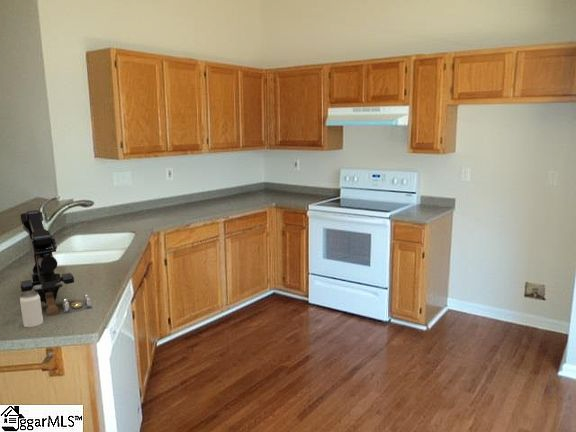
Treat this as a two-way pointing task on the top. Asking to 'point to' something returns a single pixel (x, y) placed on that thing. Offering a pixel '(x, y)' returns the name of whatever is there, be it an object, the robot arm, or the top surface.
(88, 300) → the pair of rounded blocks
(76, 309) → the mat
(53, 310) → the brown rectangular block
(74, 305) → the yellow-brown curved piece
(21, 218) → the robot arm
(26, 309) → the can
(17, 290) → the top surface
